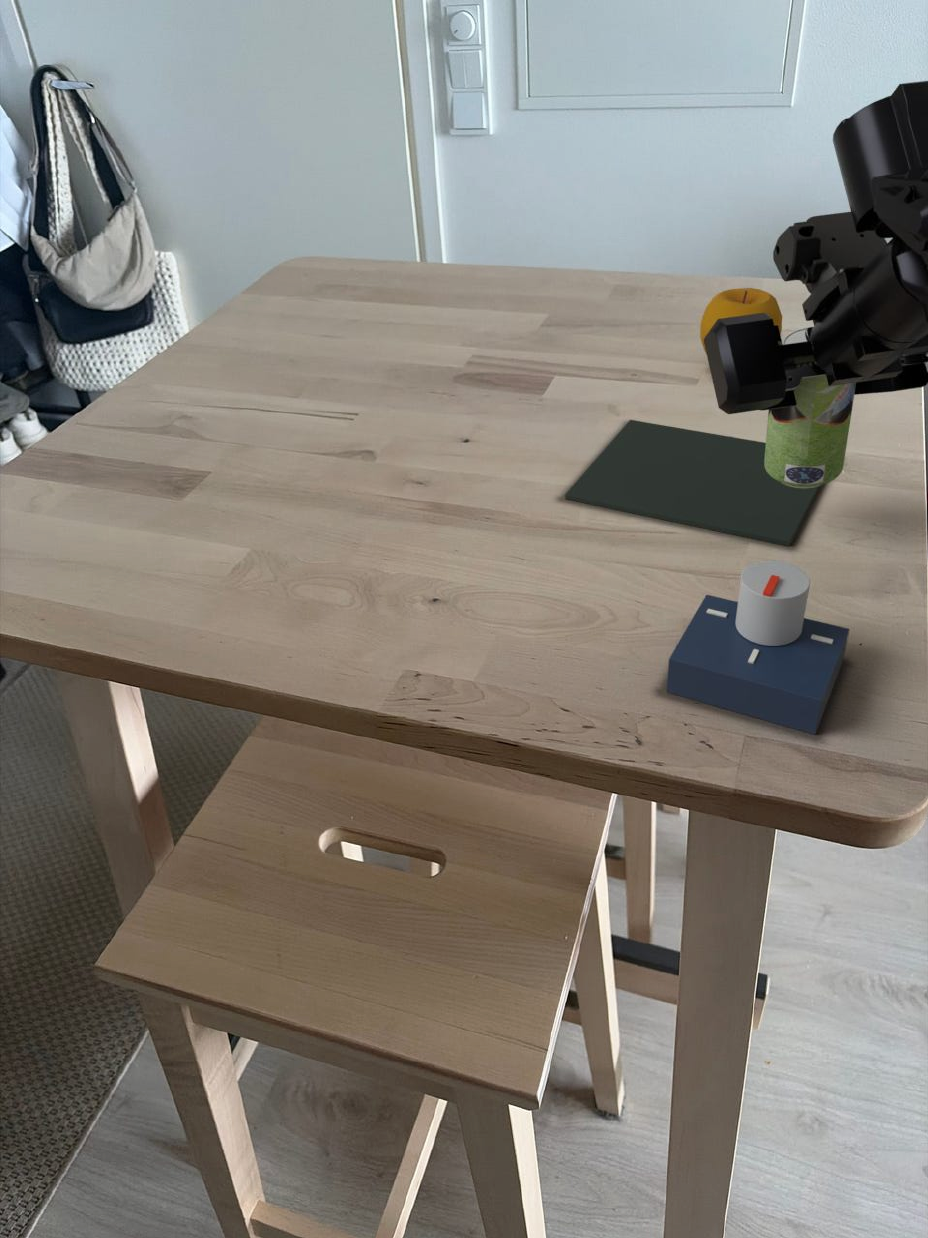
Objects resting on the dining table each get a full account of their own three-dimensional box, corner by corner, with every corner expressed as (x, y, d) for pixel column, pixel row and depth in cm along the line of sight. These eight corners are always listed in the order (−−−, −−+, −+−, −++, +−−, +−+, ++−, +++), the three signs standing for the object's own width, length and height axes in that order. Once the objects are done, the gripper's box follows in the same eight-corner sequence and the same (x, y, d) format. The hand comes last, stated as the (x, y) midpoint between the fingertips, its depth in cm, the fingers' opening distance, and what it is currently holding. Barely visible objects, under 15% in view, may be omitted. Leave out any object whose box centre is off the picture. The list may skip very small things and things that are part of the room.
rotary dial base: (849, 643, 71) (857, 608, 69) (815, 735, 64) (822, 698, 62) (712, 609, 75) (716, 575, 73) (666, 692, 68) (668, 656, 66)
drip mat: (833, 459, 92) (834, 454, 92) (789, 546, 81) (790, 541, 81) (630, 423, 100) (630, 419, 100) (565, 499, 90) (564, 494, 89)
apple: (736, 394, 104) (744, 311, 99) (679, 370, 110) (684, 290, 105) (792, 371, 108) (804, 290, 102) (734, 349, 113) (742, 271, 108)
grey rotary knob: (745, 601, 71) (752, 550, 68) (808, 616, 69) (817, 564, 66) (727, 636, 68) (733, 585, 65) (792, 653, 66) (801, 600, 63)
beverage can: (845, 465, 81) (874, 321, 74) (832, 508, 76) (862, 357, 69) (767, 453, 83) (787, 312, 76) (748, 494, 78) (769, 347, 71)
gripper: (1004, 163, 64) (884, 283, 79) (726, 198, 62) (658, 313, 77) (1049, 326, 62) (918, 415, 77) (765, 366, 60) (688, 450, 75)
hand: (795, 395), depth 77 cm, fingers closed on beverage can, 6 cm apart
